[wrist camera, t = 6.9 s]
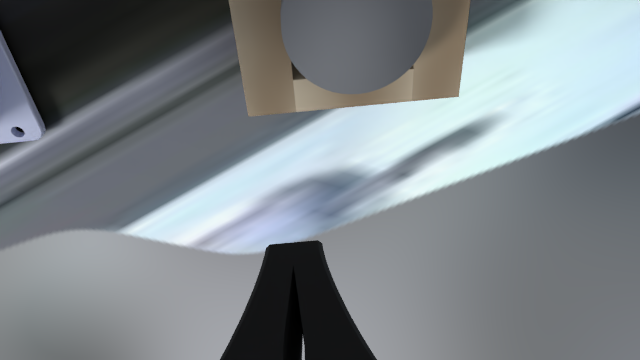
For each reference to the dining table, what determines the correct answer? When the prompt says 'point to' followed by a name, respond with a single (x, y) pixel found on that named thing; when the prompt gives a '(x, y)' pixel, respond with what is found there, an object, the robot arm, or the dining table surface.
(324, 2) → the grey plug
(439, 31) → the socket block
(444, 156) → the dining table surface
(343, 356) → the robot arm
